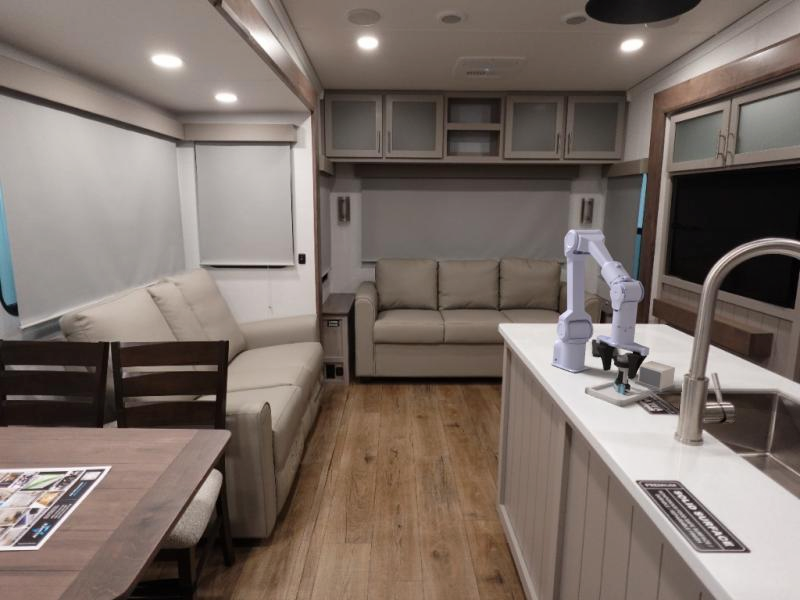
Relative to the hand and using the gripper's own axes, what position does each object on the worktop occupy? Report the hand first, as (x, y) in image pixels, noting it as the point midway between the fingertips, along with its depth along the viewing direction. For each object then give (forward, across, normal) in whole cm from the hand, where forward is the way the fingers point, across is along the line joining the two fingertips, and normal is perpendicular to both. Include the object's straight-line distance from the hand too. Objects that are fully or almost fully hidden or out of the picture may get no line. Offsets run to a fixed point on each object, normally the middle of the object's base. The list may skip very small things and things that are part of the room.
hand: (618, 374), depth 134 cm
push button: (+6, 0, +2) cm, 6 cm away
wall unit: (+6, +1, +16) cm, 17 cm away
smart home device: (+7, -30, +34) cm, 46 cm away
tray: (+6, 0, 0) cm, 6 cm away
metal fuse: (+6, -9, +18) cm, 21 cm away
